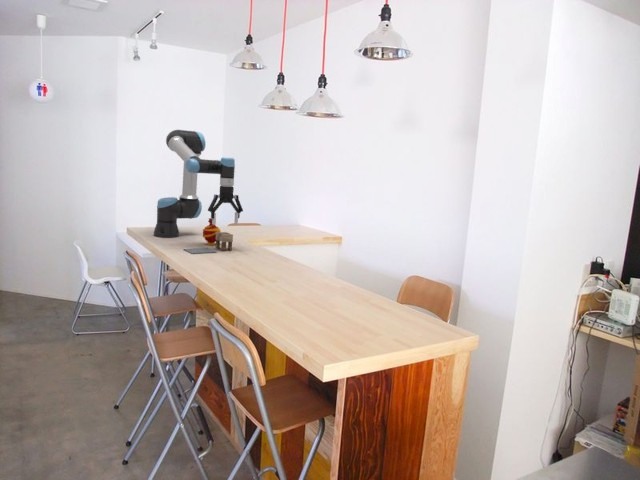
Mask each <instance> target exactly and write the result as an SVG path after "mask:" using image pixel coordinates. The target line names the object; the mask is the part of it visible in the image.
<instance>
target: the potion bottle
mask: <svg viewBox="0 0 640 480" xmlns="http://www.w3.org/2000/svg"><path fill="white" fill-rule="evenodd" d="M208 223H209V225H206V226H204V228H203V229H202V237H203V238H204V240H205V241H206V242H207V243H206V245H208V246H216V232H222V231H221V229H220V228H219V227H218V226H217V225H213V224H212V218H211V217H210V218H208Z"/></svg>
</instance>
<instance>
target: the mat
mask: <svg viewBox="0 0 640 480" xmlns="http://www.w3.org/2000/svg"><path fill="white" fill-rule="evenodd" d="M183 251H185V252H186V253H189V254H190V255H199V254H201V255H202V254H216V253H217V251H216V250H214V249H211V248H210V247H197V248H183Z"/></svg>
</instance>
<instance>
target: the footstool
mask: <svg viewBox="0 0 640 480" xmlns="http://www.w3.org/2000/svg"><path fill="white" fill-rule="evenodd" d="M233 242H234V234H233V233H230V232H227V231H221V232H216V242H215V249H216V250H219V249H220V246H221V249H220V250H221V252H225V251H226V249H227V251H233Z"/></svg>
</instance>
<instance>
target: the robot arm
mask: <svg viewBox="0 0 640 480" xmlns="http://www.w3.org/2000/svg"><path fill="white" fill-rule="evenodd" d="M165 143H166V146H167V147H168V149H169V150H170V151H172V152H174V153H175V154H177V156H178V157H179V158H180V159H181V160H182V161H183V167H182V168H183V171H182V187H181V188H182V190H181V195H179V197H178V198H177V197H175V196H174V197H173V196H172V197H170V196H169V197H162V198H159V199H158V200H157V204H156V208H157V209H156V210H157V211H156V225H155V227H154V230H153V236H155V237H159V238H177V237H180V230H179V227H178V226H179V225H178V224H177V223H178V219H190V220H191V219H197V218H198V217H199V216H200V215H201V212H202V211H203V210H202V209H203V205H202V202H201V200H200V199H199V196H198V195H197V189H198V187H197V186H198V174H209V175H211V174H213V175H219V176H220V177H219V194H217V193H216V194H215V193H214V194H213V199H212V200H211V203H210V204H209V206H208V208H207V211H208V212H209V213H210V218H212V224H213V225H216V224H217V221H216V219H217V213H216V211H217V210H218V209H219V208H220V206H221V205H222V204H230V205H231V206H232V208H233V210H234V211H235V212H234V225H239V219H240V216H241V215H240V214H241V213H242V212H244V210H243V206H242V204H241V201H240V199H239V198H240V197H239V194H238V195H237V194H234V188H235V187H234V184H235V167H236V164H235V162H236V161H235V158H234V157H224V156H223V157H221V158H220V160H218V159H205V158H204V159H201V158H200V156H201V155H202V152H204V151H205V148H206V139H205V136H204V134H203V133H202V132H199V131H195V130H184V129H174V130H172V131H170V132H169V133H168V134H167V136H166V139H165ZM233 199H234V200H233ZM235 203H236V204H235ZM216 226H217V225H216Z"/></svg>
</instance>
